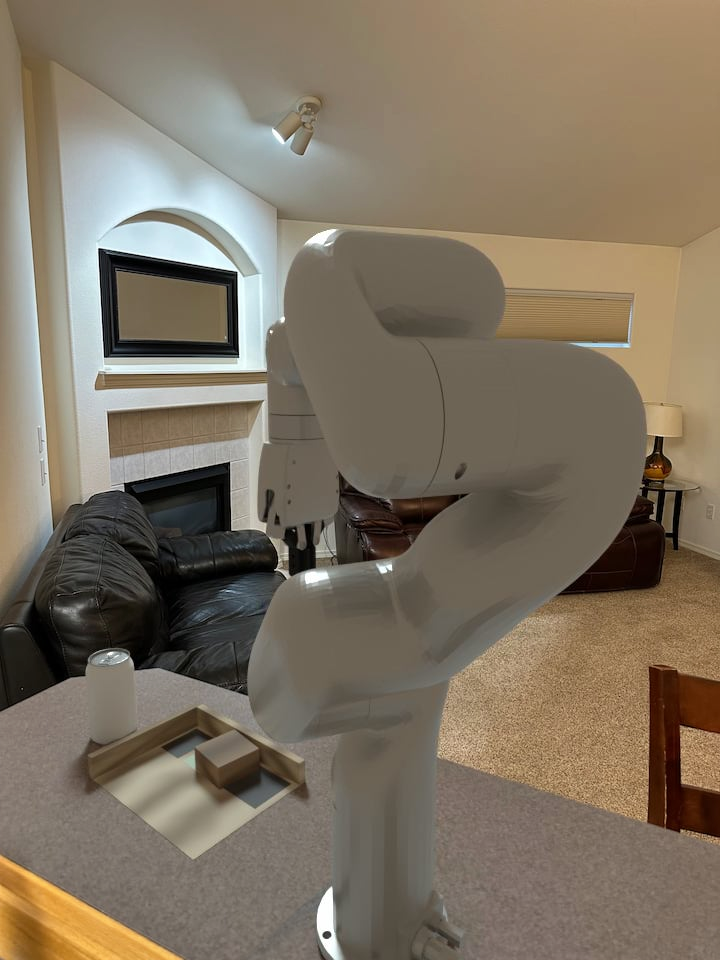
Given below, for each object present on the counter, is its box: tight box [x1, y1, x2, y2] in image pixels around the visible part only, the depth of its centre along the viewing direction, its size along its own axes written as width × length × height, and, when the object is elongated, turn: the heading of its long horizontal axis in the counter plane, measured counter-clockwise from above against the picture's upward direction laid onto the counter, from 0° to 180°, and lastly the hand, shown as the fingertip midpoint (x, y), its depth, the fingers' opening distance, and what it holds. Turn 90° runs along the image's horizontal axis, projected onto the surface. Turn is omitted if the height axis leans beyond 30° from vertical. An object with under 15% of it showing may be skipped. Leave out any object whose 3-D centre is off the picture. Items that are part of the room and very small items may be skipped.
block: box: [194, 729, 260, 790], centre depth 83 cm, size 6×6×3 cm
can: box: [85, 647, 139, 746], centre depth 92 cm, size 6×6×12 cm
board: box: [86, 701, 306, 861], centre depth 81 cm, size 22×17×4 cm
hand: (302, 576), depth 79 cm, fingers closed
